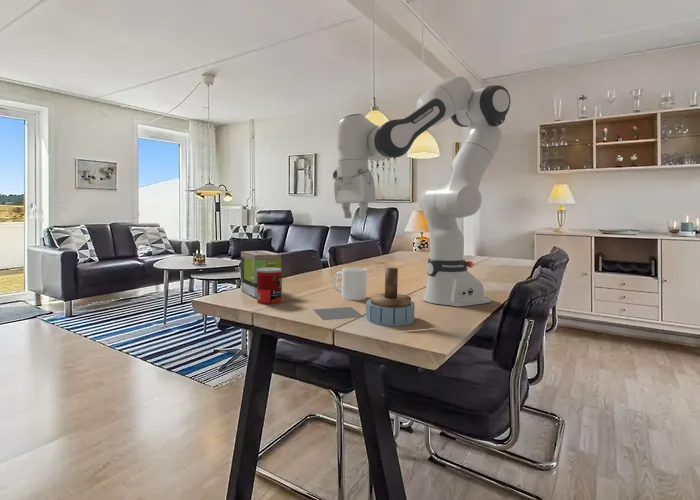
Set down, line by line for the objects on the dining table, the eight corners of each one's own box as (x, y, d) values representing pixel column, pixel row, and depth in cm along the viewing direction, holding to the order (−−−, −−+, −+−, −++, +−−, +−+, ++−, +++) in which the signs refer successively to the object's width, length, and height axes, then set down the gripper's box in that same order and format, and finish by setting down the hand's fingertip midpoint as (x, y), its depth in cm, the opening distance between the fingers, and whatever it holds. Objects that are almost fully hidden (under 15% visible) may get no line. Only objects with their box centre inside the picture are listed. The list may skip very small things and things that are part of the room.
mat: (351, 308, 129) (351, 307, 129) (364, 318, 117) (364, 316, 117) (312, 310, 125) (312, 309, 125) (323, 321, 114) (323, 319, 113)
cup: (359, 302, 137) (360, 271, 136) (327, 298, 142) (328, 268, 141) (370, 297, 144) (370, 268, 143) (339, 294, 149) (339, 266, 148)
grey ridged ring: (401, 313, 124) (401, 296, 123) (422, 325, 111) (422, 306, 111) (359, 316, 120) (360, 298, 119) (377, 328, 107) (377, 309, 107)
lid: (400, 297, 122) (401, 265, 121) (418, 306, 111) (419, 270, 110) (365, 299, 118) (365, 266, 117) (379, 308, 108) (380, 272, 107)
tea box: (282, 295, 146) (282, 253, 144) (254, 298, 140) (254, 254, 139) (266, 288, 158) (265, 249, 157) (240, 290, 153) (239, 250, 151)
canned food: (274, 306, 130) (274, 271, 129) (252, 304, 132) (251, 269, 131) (286, 301, 137) (286, 268, 136) (264, 299, 139) (264, 266, 138)
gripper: (380, 167, 115) (381, 218, 116) (348, 174, 133) (349, 218, 135) (359, 167, 112) (361, 218, 114) (330, 174, 131) (331, 218, 132)
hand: (354, 218), depth 124 cm, fingers open, 8 cm apart
